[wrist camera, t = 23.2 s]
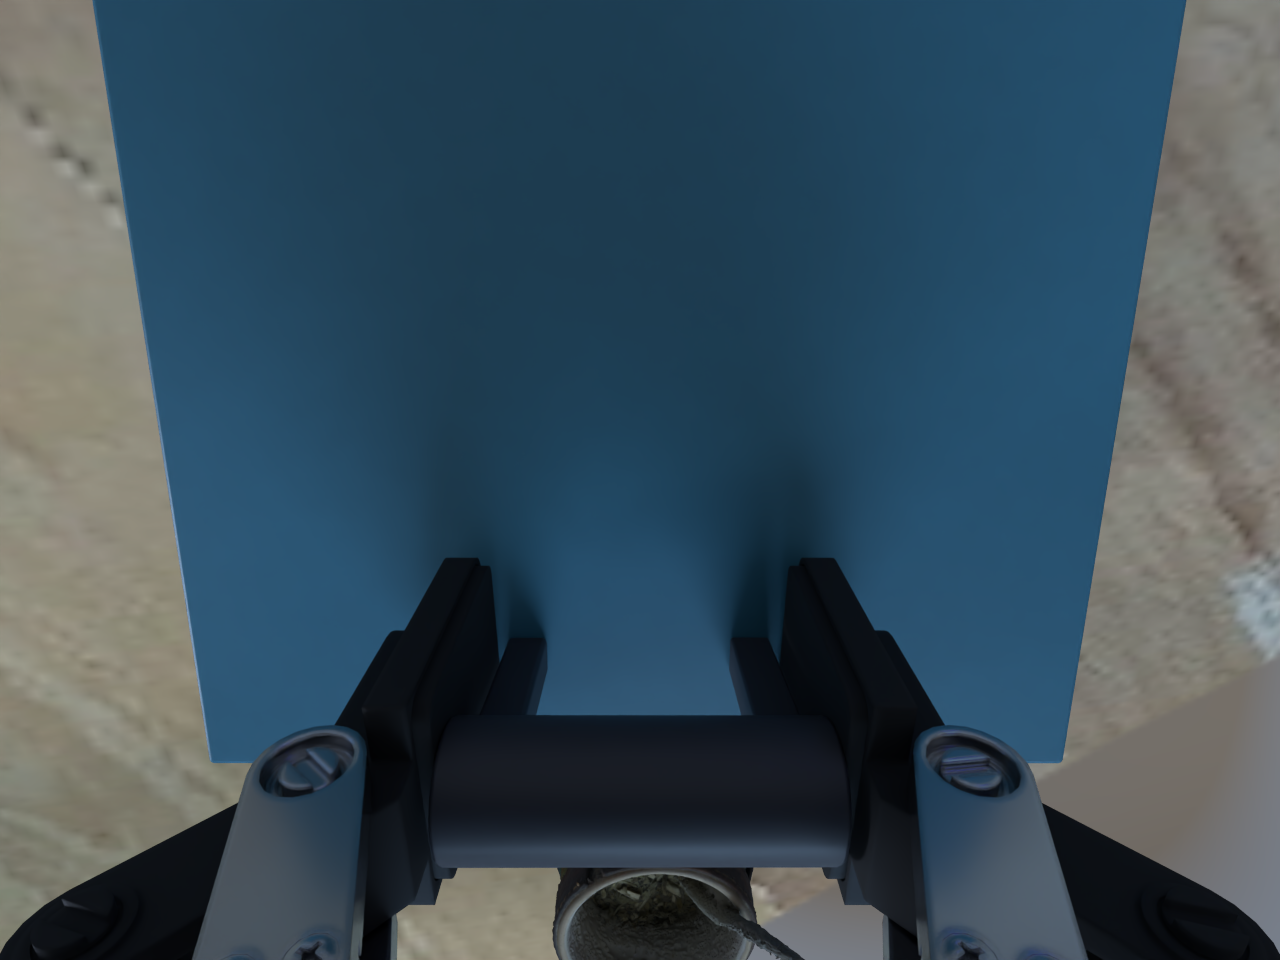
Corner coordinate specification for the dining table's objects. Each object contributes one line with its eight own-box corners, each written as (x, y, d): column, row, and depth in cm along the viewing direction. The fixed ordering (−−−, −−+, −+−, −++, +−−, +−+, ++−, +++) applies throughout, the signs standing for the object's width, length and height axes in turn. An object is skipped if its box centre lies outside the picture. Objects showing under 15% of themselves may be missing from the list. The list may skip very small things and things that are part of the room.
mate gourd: (510, 723, 26) (438, 1013, 16) (668, 608, 24) (688, 860, 15) (636, 834, 28) (635, 1149, 18) (790, 736, 26) (876, 1028, 17)
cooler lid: (1040, 740, 14) (1284, 994, 9) (232, 740, 14) (-14, 999, 9) (1174, -137, 11) (1707, -583, 5) (103, -146, 10) (-436, -616, 5)
